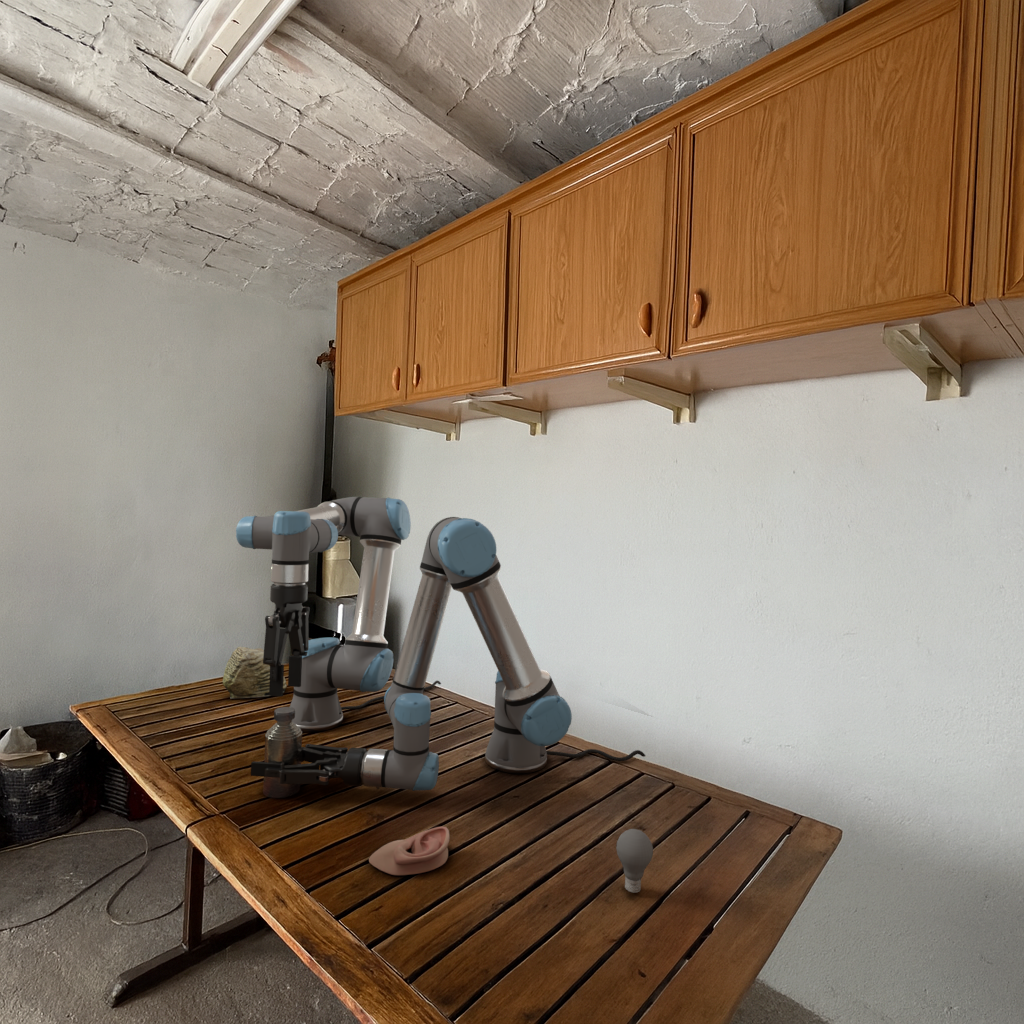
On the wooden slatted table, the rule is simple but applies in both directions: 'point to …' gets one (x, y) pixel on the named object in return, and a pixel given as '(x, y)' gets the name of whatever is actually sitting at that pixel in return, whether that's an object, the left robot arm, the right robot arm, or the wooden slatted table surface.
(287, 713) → the cap
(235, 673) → the fossil
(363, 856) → the wooden slatted table surface
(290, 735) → the bottle
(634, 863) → the light bulb
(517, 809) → the wooden slatted table surface
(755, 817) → the wooden slatted table surface
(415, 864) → the anatomical model
